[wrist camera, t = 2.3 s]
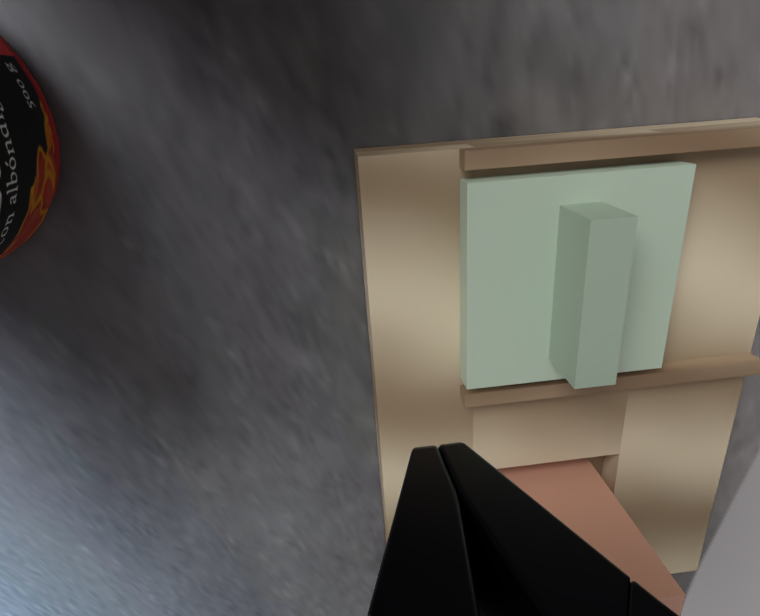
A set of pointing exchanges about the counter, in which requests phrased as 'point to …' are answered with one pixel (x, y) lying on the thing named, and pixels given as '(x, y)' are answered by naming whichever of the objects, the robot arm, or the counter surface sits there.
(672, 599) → the block
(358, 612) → the counter surface
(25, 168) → the canned food
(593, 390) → the board
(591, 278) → the cover
